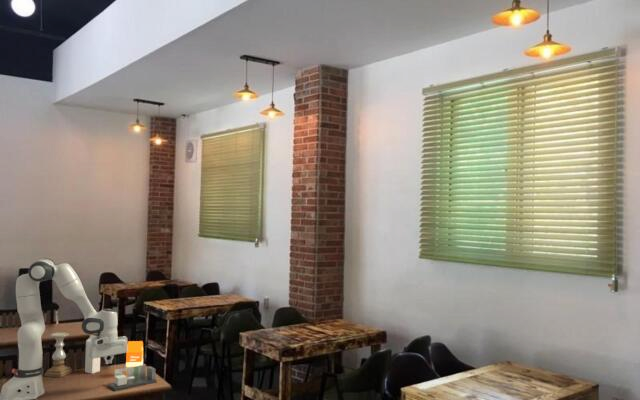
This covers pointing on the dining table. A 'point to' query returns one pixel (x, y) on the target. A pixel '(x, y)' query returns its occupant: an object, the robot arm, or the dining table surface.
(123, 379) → the white block
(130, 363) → the orange juice
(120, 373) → the bench
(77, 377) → the dining table surface
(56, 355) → the candle holder
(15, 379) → the robot arm
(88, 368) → the milk
